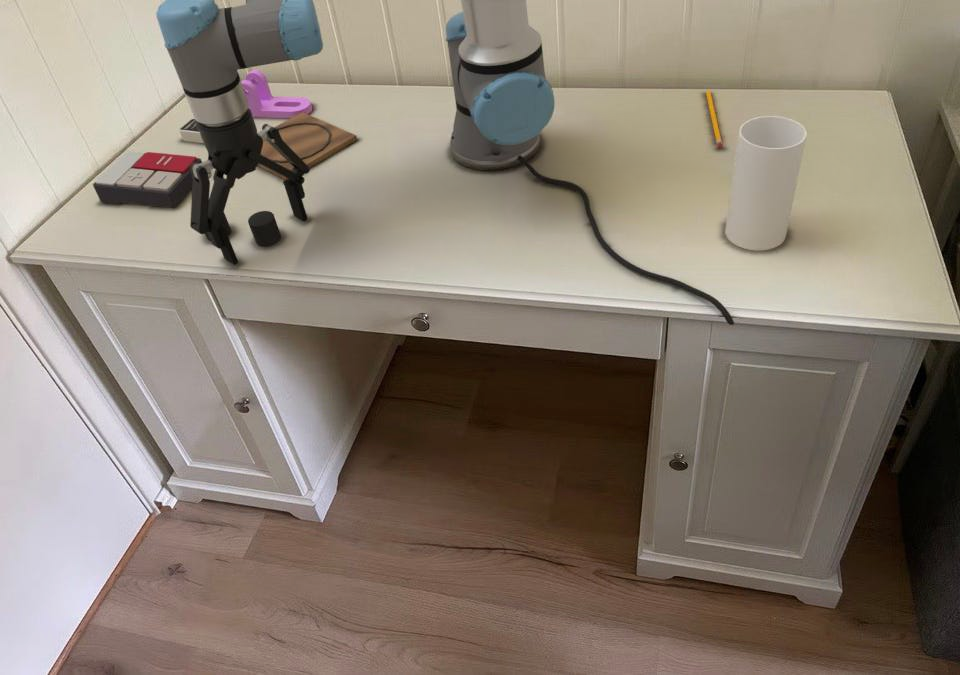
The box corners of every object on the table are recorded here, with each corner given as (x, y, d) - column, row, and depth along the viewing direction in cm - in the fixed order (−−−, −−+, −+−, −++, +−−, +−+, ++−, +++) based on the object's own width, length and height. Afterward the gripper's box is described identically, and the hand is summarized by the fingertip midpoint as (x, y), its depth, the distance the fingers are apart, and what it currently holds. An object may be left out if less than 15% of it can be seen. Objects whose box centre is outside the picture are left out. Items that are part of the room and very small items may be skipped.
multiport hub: (229, 147, 145) (225, 135, 143) (182, 140, 149) (177, 129, 147) (242, 134, 148) (239, 123, 146) (196, 129, 151) (192, 118, 150)
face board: (357, 140, 142) (355, 134, 141) (287, 181, 134) (285, 175, 133) (303, 116, 151) (301, 110, 150) (234, 154, 143) (232, 148, 142)
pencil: (717, 147, 128) (717, 144, 127) (705, 93, 140) (706, 90, 140) (722, 147, 127) (722, 144, 127) (710, 93, 140) (710, 90, 140)
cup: (749, 257, 108) (766, 155, 96) (713, 227, 113) (725, 127, 102) (798, 238, 109) (821, 136, 98) (760, 209, 115) (778, 109, 104)
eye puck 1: (236, 232, 125) (228, 211, 122) (215, 245, 123) (206, 224, 120) (222, 223, 127) (214, 203, 124) (201, 236, 125) (192, 215, 122)
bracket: (244, 116, 153) (233, 83, 148) (257, 102, 157) (246, 69, 152) (305, 118, 150) (295, 84, 145) (316, 104, 154) (307, 70, 149)
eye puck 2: (286, 237, 122) (279, 216, 120) (265, 250, 121) (257, 229, 118) (271, 228, 125) (263, 207, 122) (250, 241, 123) (242, 220, 120)
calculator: (167, 189, 129) (89, 181, 132) (176, 211, 132) (99, 202, 135) (200, 154, 137) (125, 146, 140) (207, 175, 140) (134, 167, 143)
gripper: (278, 71, 116) (314, 193, 130) (128, 146, 104) (186, 270, 119) (309, 84, 112) (342, 208, 126) (157, 163, 100) (213, 290, 114)
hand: (267, 238), depth 122 cm, fingers open, 13 cm apart
